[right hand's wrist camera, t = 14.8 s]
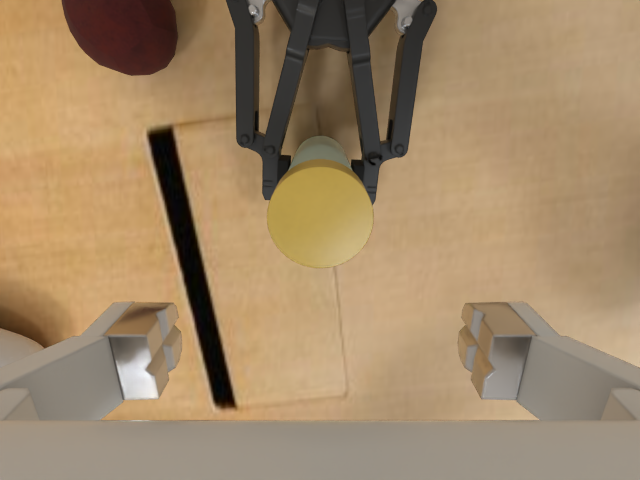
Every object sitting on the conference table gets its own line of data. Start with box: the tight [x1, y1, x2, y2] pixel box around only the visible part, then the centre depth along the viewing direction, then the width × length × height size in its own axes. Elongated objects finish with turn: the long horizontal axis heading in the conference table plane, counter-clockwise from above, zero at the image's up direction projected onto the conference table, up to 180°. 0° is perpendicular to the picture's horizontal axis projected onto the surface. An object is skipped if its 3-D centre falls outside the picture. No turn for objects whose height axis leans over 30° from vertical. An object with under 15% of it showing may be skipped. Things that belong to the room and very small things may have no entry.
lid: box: [267, 159, 374, 268], centre depth 20 cm, size 5×5×2 cm
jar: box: [288, 136, 352, 171], centre depth 27 cm, size 5×5×16 cm
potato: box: [62, 0, 178, 76], centre depth 27 cm, size 7×8×7 cm
